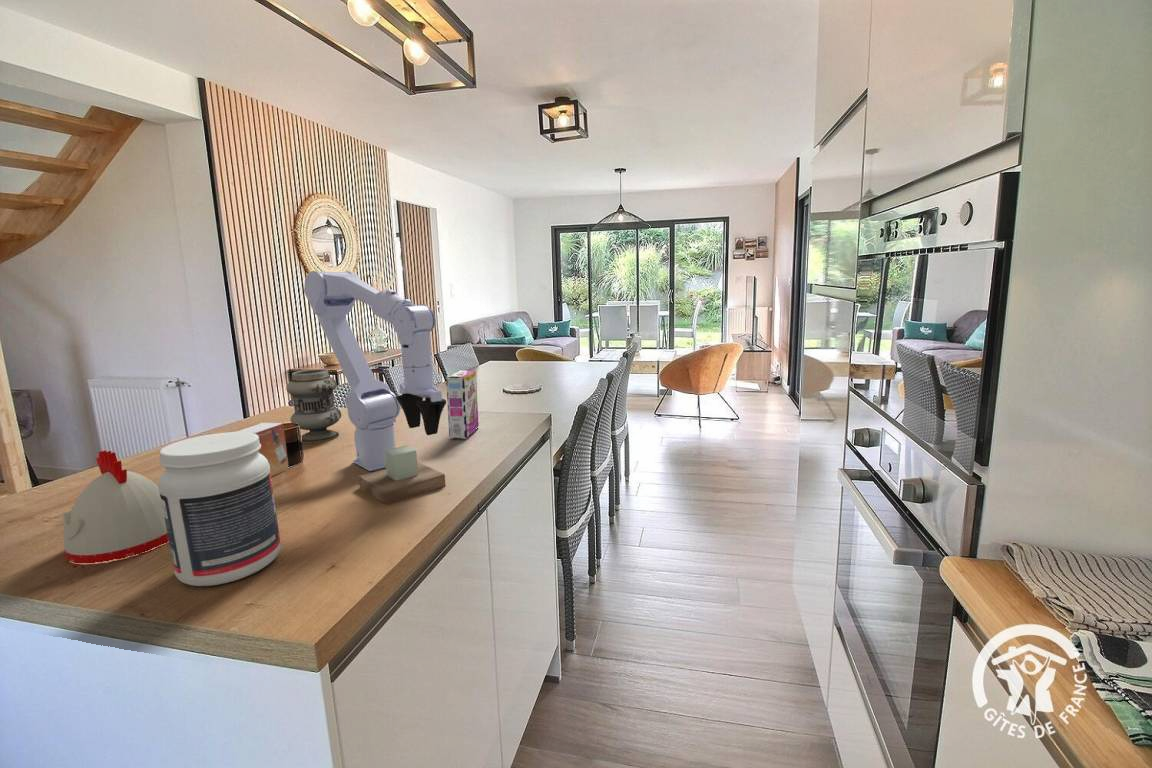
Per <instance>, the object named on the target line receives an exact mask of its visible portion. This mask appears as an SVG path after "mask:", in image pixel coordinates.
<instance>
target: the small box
mask: <svg viewBox="0 0 1152 768" xmlns="http://www.w3.org/2000/svg"><path fill="white" fill-rule="evenodd" d="M234 432H250V433H254V434H257V435H258V436H259V442H260V444H261V448H260V449H259V450H258V452H259V453H260V454H262V455H263V456H264V457H265V458H266V459H267V460H268V463H269V465H270V474H271V478H272V477H273V476H276V475H278V474H280V473H283V472H286V471H288V470H289V461H288V460H289V459H288V452H287V445H286V436H285V429H284V424H283V423H280V422H277V423H276V422H260V423H258V424H255V425H253V426H249V427H247V428H243V429H240V430H235V431H234Z"/></svg>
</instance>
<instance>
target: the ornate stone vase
mask: <svg viewBox="0 0 1152 768" xmlns="http://www.w3.org/2000/svg"><path fill="white" fill-rule="evenodd" d="M337 386H338V384H337V381H336V379H335V378H333V377H332V376H331V375H330V373H329V370H328V369H327V368H312V369H304V370H299V371H294V372H292V373H291V380H290V381H289V382H288V383H287V385H286V392H287V393H288V394H290V396H292V399H293V401H292V402H293V407H294V413H293V414H291V417H290V423H291V424H292V423H297V424H298V425H299V426H300V429H299V430H304V431H308V432H305V433H303V434H302V435H301V436H300V437H302V444H316V443H323V442H327V441H328V442H329V441H330V440H334V439H337V438H338V437H339V436H340V433H339V432H338V431H336V430H333V429H328V428H329V427H331V426H333V425H335V424H336V423H338V422H339V421H340V419H341V418H342V411H341V410H340V409H339V408H338V407H336V405H335V399H334V391H335V390H336V388H337Z"/></svg>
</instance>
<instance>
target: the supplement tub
mask: <svg viewBox="0 0 1152 768" xmlns="http://www.w3.org/2000/svg"><path fill="white" fill-rule="evenodd" d="M260 448H261V444H260V442H259V436H258V435H257V434H254V433H250V432H235V431H230V432H220V433H212V434H211V433H210V434H206V435H200V436H195V437H191V438H190V437H189V438H186V439H182V440H179V441H175V442H173V443H170V444H168V445H165V446H164V447H162V448H161V449H160V451H159V459H160V460H159V465H160V466H161V467H164V468H165V470H164V471H163V472H162V473H161V474H160V476H159V479H158V482H157V483H158V485H157V486H158V490H159V492H160V497H161V502H162V508H163V513H164V518H165V523H166V528H167V534H168V539H169V543H168V545H169V550H170V555H171V559H172V565H173V573H174V575H175V577H176V578H177V579H178V580H179V581H180V582H181V583H184V584H185V585H189V586H193V587H195V586H196V587H211V586H218V585H223V584H229V583H231V582H235V581H239V580H241V579H243V578H246V577H248V576H251V575H253V574H255V573H257V572H258V571H261V570H263V569H265V567H268V565H270V563H272V562H273V561H275V559H276V558H277V556H278V555H279V554H280V551H281V546H282V541H281V537H280V535H281V534H280V529H279V524H278V523H279V522H278V517H277V515H278V514H277V509H276V502H275V496H274V489H273V481H272V477H271V474H270V465H269V463H268V460H267V459H266V458H265V457H264V456H263V455H262V454H260V453H259V452H258V450H259V449H260Z"/></svg>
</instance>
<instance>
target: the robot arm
mask: <svg viewBox="0 0 1152 768" xmlns="http://www.w3.org/2000/svg"><path fill="white" fill-rule="evenodd" d="M303 287H304V288H303V292H304V293H303V294H304V295H305V297H306V298H307V301H308V303H309V305H310V307H311V308H310V309H312V312H313V314H315V315H316V316H317V321H318V322H319V325H320V326H321V328H322V330H323V333H324V335H325V337H326V339H327V341H328V344H329V345H330V347H331V350H332V351H333V354H334V356H335V358H336V360H337V362H338V364H339V365H340V368H341V371H342V372H343V374H344V376H345V379H346V381H347V382H348V384H349V387H350V389H349V391H348V393H347V394H346V396H345V399H344V401H343V402H344V403H345V405H346V409H347V415H348V418H349V419H348V420H350V422H351V424H352V425H354V427H355V431H354V436H353V437H354V443H355V444H354V446H355V453H356V454H355V455H356V459H352V462H353V464H356V465H358V466H359V467H361V468H363V469H365V470H366V471H367V472H375V471H379V470H382V469H386V463H385V453H384V451H385V450H389V449H393V448H397V447H396V437H395V427H394V423H396V422H397V418H398V416H399V414H401V413H400V412H401V409H402V411H403V414H404V416H405V420H406V423H407V425H408V428H409V429H414V428H420V427H421V426H420V425H421V418H422V421H423V427H424V428H423V429H424V432H425V434H426V436H432V435H436V434H438V430H439V425H440V420H441V416H442V413H443V411H444V408H445V406H446V404H447V399H444V398H443V395H442V390H440V389H438V388H437V387H436V385H435V384H434V383H435V382H434V380H435V379H434V369H433V357H432V344H431V343H432V342H431V341H432V340H431V332H432V331H433V330H434V328H435V326H436V315H435V312H434V311H433V309H432V308H431V307H429V306H428V305H427V304H426V303H425V304H424V303H421V304H418V305H416V304H415V303H413V302H412V300H411V299H408V298H403V297H401V296H399V295H398V294H397V291H396V290H394V289H383V290H380V291H379V290H378V289H376V288H375V287H373V286H371V285H370V284H369V283H367V282H365V281H364V280H362V279H361V278H360V275H359V274H358V273H357V274H356V273H354V272H352V271H349V270H347V271H316V270H311V271H309V272H308V273H307V275H306V276H305V280H304V286H303ZM356 301H359V302H361V303H363V304H366V305H367V306H370V309H371V311H372V313H373V315H374V316H377V317H378V318H380V319H382V320H383V321H385V322H387V323H389V324H391V325H392V327H393V331H395V333H396V335H397V342H398V343H399V345H400V347H401V358H402V370H403V382H400V383H399V384H398V385H399V390H398V391H399V393H400V395H396V394H395V393H394V391H393V392H392V390H391V389H390V385H389V384H387V383H385V382H384V381H381V380H378V379H377V378H375V376H374V374H373V371H372V369H371V367H370V366H369V363H368V361H367V359H366V357H365V355H364V352H363V351H362V349H361V347H360V345H359V343H358V341H357V339H356V337H355V334H354V332H353V330H352V328H351V327H350V324H349V322H348V320H347V315H348V314H349V313H351V312H352V310H353V307H354V306H355V305H354V304H355V302H356Z"/></svg>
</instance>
